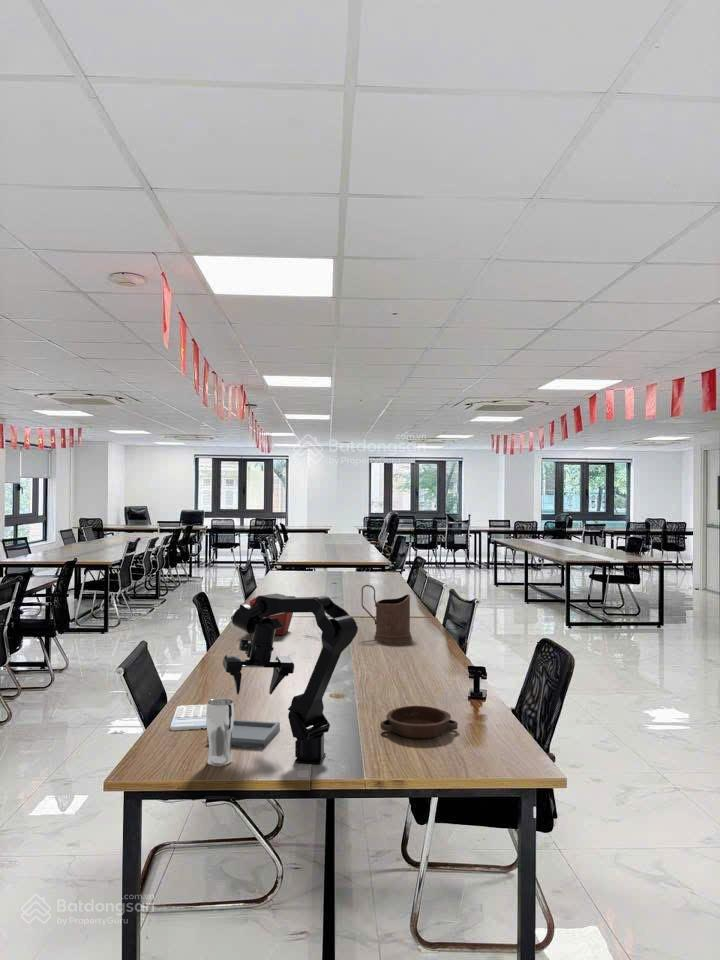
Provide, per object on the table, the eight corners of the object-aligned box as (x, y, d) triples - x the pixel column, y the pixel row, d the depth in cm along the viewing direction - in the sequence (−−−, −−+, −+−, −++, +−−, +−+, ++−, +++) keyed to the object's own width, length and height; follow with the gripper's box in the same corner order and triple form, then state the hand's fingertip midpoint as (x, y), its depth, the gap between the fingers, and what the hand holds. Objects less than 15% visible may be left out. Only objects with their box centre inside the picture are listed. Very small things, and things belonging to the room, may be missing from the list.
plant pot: (296, 629, 343) (296, 595, 343) (288, 637, 324) (288, 601, 324) (258, 628, 345) (258, 595, 345) (248, 636, 326) (248, 601, 326)
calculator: (220, 708, 218) (220, 702, 218) (217, 730, 198) (217, 723, 198) (176, 710, 216) (176, 704, 216) (169, 732, 196) (169, 725, 196)
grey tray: (279, 730, 197) (279, 722, 197) (264, 748, 183) (264, 739, 183) (226, 726, 199) (226, 719, 200) (207, 744, 186) (207, 735, 186)
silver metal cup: (200, 761, 173) (200, 701, 174) (223, 754, 178) (224, 696, 179) (215, 769, 168) (216, 707, 169) (239, 761, 173) (239, 701, 174)
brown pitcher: (414, 642, 314) (414, 587, 315) (361, 642, 314) (361, 587, 314) (410, 634, 333) (410, 582, 333) (361, 634, 332) (361, 582, 333)
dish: (377, 722, 204) (377, 705, 204) (450, 721, 206) (450, 704, 206) (383, 744, 187) (383, 725, 187) (464, 742, 189) (464, 723, 189)
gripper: (288, 629, 198) (279, 680, 199) (223, 627, 190) (214, 680, 192) (299, 644, 187) (289, 698, 189) (231, 642, 180) (222, 699, 182)
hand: (253, 693), depth 188 cm, fingers open, 9 cm apart
